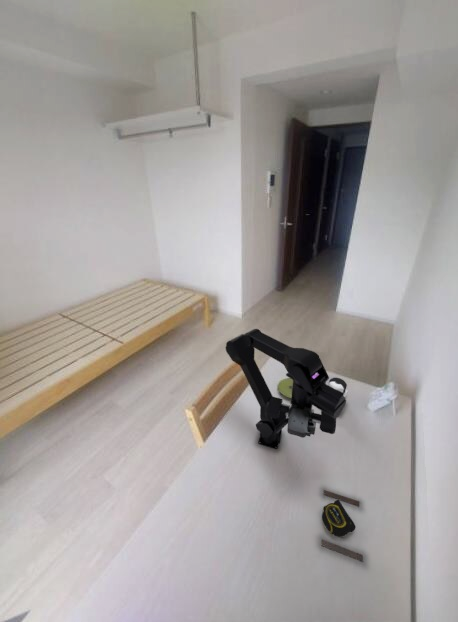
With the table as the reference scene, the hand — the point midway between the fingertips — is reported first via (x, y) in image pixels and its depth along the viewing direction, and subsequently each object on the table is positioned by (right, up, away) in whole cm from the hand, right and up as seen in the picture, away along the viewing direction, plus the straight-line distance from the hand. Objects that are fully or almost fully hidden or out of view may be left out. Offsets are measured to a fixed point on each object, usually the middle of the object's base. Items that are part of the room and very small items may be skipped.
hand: (297, 434), depth 79 cm
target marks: (+8, -18, -9) cm, 22 cm away
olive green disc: (+5, +4, +31) cm, 31 cm away
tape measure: (+8, -19, -9) cm, 22 cm away
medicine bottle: (+20, 0, +24) cm, 32 cm away
